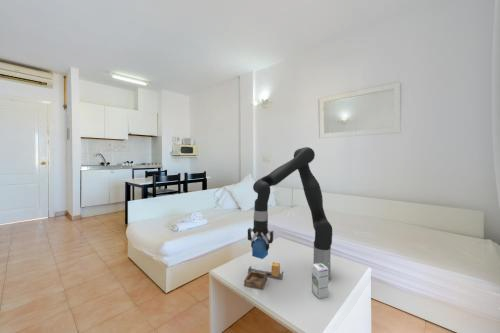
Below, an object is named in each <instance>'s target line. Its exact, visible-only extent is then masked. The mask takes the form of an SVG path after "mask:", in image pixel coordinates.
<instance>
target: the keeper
mask: <svg viewBox="0 0 500 333" xmlns="http://www.w3.org/2000/svg"><path fill="white" fill-rule="evenodd" d="M267 281H268V277H267V274H265V273H260V272H254V271H250V272H249V274H248V273H247V275H246V277H245V279H244V281H243V282H244V283H243V287H247V288H251V289H256V290H261V291H264V287H265V285H266V283H267Z"/></svg>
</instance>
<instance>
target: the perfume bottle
mask: <svg viewBox="0 0 500 333" xmlns="http://www.w3.org/2000/svg"><path fill="white" fill-rule="evenodd" d="M258 235H259V236H258V238H257V237H256V238H255V239H254V243H253V245H252V247H251V248H252V251H251V253H252V254H251V255H252V257H253V258H257V259H261V260H263V259H265V258H266V257H267V256H268V255H269V249H268V250H267V251H266V242H265V240H264V239H263V238H262V237H261V234H258Z"/></svg>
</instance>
